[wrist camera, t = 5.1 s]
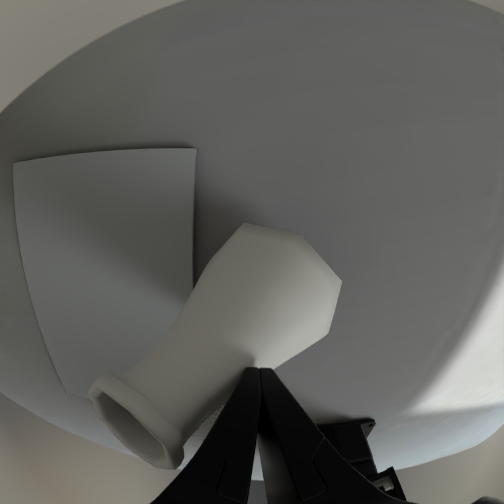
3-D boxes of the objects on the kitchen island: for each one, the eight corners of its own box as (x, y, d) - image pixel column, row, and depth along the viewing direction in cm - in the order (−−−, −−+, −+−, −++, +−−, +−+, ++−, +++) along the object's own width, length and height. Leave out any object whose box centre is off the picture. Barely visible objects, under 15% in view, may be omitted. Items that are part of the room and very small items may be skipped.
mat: (201, 418, 20) (200, 421, 19) (68, 389, 19) (66, 392, 19) (196, 148, 13) (195, 148, 13) (16, 162, 13) (12, 163, 12)
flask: (238, 196, 14) (37, 246, 5) (369, 274, 12) (322, 479, 3) (195, 304, 17) (61, 396, 8) (295, 372, 15) (205, 517, 6)
